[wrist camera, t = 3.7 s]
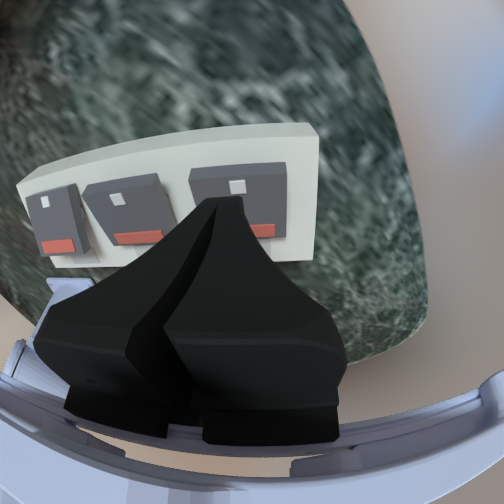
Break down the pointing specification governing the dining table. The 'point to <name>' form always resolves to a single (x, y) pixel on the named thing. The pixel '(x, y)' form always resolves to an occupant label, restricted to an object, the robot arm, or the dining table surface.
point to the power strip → (177, 186)
